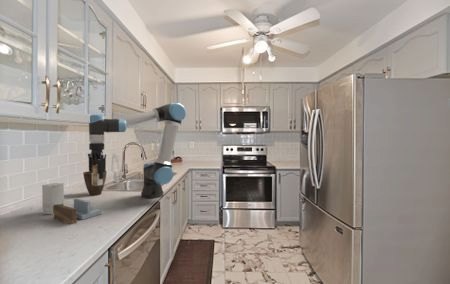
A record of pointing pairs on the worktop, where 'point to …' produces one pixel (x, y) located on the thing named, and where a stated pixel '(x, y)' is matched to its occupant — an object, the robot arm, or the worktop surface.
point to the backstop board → (65, 214)
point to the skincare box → (52, 196)
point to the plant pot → (92, 189)
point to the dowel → (95, 175)
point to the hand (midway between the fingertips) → (97, 184)
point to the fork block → (84, 209)
